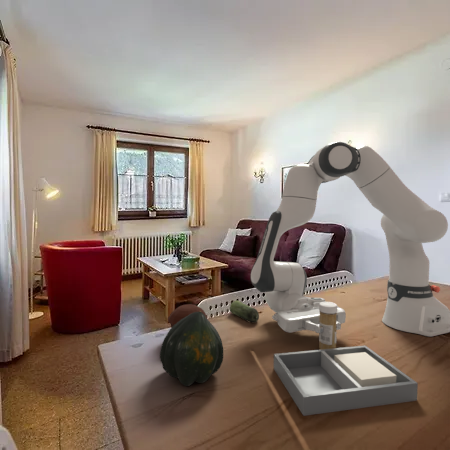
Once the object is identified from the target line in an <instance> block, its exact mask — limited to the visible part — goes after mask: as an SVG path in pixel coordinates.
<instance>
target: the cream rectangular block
mask: <svg viewBox="0 0 450 450" xmlns="http://www.w3.org/2000/svg"><path fill="white" fill-rule="evenodd" d="M334 361H335V362H336V363H337V364H338V365H339V366H340V367H341V368H342V369H344V370H345V371H346V372H347V373H348V374H349V375H350V376H351V377H352V378H353V379H354V380H355V381H356V382H357V383H358V384H359V385H360V386H361V387H367V386H376V385H384V384H392V383H396V375H395V374H394V373H392V372H391V371H390V370H388V369H387V368H386V367H384V366H383V365H382V364H380V363H379V362H378V361H376V360H375V359H374V358H372V357H371V356H370V355H368V354H367V353H366V352H361V353H351V354H340V355H334Z"/></svg>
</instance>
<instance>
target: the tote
mask: <svg viewBox="0 0 450 450" xmlns="http://www.w3.org/2000/svg"><path fill="white" fill-rule="evenodd" d="M361 352H366V353H367V354H368V355H370V356H371V357H372V358H374V359H375V360H376V361H378V362H379V363H380V364H382V365H383V366H384V367H386V368H387V369H388V370H390V371H391V372H392V373H394V374H395V375H396V383H392V384H384V385H376V386H367V387H361V386H360V385H359V384H358V383H357V382H356V381H355V380H354V379H353V378H352V377H351V376H350V375H349V374H348V373H347V372H346V371H345V370H344V369H342V368H341V367H340V366H339V365H338V364H337V363H336V362H335V361H334V355H340V354H351V353H361ZM273 370H274V372H275V373H276V375H277V376H278V378H279V379H280V381H281V383H282V385H284V387H285V390H287V392H288V394H289V396H290V397H291V398H292V400H293V402H294V403H295V405H296V407H297V408H298V410H299V411H300V413H301V414H302V416H304V417H305V416H311V415H312V416H313V415H319V414H327V413H333V412H334V413H335V412H341V411H347V410H348V411H349V410H356V409H363V408H371V407H379V406H386V405H394V404H401V403H402V404H403V403H408V402H415V401H418V386H419V385H418V382H417V381H416V380H414V379H412V377H410V376H408V375H407V374H406V373H405V372H403V371H401V370H400V369H399V368H397V367H396V366H395V365H394V364H392V363H391V362H389V361H387V360H386V359H385V358H384V357H382V356H380V355H379V354H377V353H376V352H375V351H374V350H372V348H370V347H368V346H367V345H357V346H345V347H336V348H333V349H322V350H319V349H314V350H313V349H312V350H304V351H303V350H302V351H292V352H282V353H273Z"/></svg>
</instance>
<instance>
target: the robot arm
mask: <svg viewBox="0 0 450 450" xmlns="http://www.w3.org/2000/svg"><path fill="white" fill-rule="evenodd" d="M287 172H288V173H287V174H286V178H285V182H284V185H283V190H282V196H281V202H280V204H279V206H278V208H277V209H276V210H275V211H273V212H272V213H271V215H270V217H269V218H268V221H267V222H266V223H267V224H266V227H265V229H264V232H263V236H262V238H261V239H262V240H261V243H260V247H259V249H258V252H257V256H256V259H255V261H254V264H253V265H252V268H251V270H250V283H251V284H252V286H254V288H255V289H256V290H257V291H258V292H260V293H265V295H264V297H265V298H264V299H265V302H266V303H267V306H268V307H269V308H270V309H271V310H272V311H273V312H274V314H273V315H272V316H271V318H272V319H273V320H274V321H275V322H277V325H278V326H279V327H280V329H282V330H283V331H284V332H286V333H296V332H302V331H311V332H315V333H317V334H319V333H322V332H323V326H322V325H320V324H319V321H320V312H319V311H320V310H319V303H321V302H326V299H325V298H323V297H309V296H305V295H304V293H305V292H306V291H305V290H306V287H307V285H308V284H307V282H308V276H307V272H306V270H305V267H303V266H302V265H301V264H300V262H292V261H275V260H274V258H275V257H276V253H277V249H278V245H279V242H280V239H281V237H282V235H284V233H285V232H287V231H289V230H291V229H295V228H297V227H301V226H303V225H305V224H307V223H308V222H310V220H312V218H313V217H314V215H315V212H316V207H317V201H318V191H319V188H320V185H321V184H325V183H328V182H332V181H336V180H338V179H340V178H342V177H344V176H346V177H348V178H349V179H350V180H352V181H353V184H355V185H356V187H357V188H358V189H359V191H360V192H361V193H362V195H363V196H364V197H365V198H366V199H367V201H368V202H369V204H371V206H372V207H374V209H376V210H378V211H379V212H380V213H382V214H383V215H382V216H381V219H380V226H381V229H382V230H383V232H384V235H385V240H386V245H387V249H388V254H389V255H388V257H389V258H388V259H389V266H388V267H389V269H388V271H389V272H388V273H389V274H388V275H389V276H388V280H387V285H386V286H387V287H386V291H387V298H386V299H387V300H386V305H385V309H384V313H383V316H382V319H381V321H382V323H383V324H384V325H386V326H388V327H390V328H393V329H395V330H398V331H401V332H406V333H410V334H411V333H412V334H418V335H421V336H425V337H434V336H435V337H436V336H439V335H443V334H448V333H450V309H449V308H448V306H447V305H445V304H444V303H443V302H441V301H440V300H439V299H437V297H436V296H434V293H437V294H438V293H440V291H441V287H440V286H438V285H435V284H432V285H430V284H429V280H430V260H429V258H428V256H427V254H426V252H425V250H424V248H423V244H426V243H427V244H429V243H435V242H437V241H439V240H441V239H443V237H444V236H445V235H446V233H447V231H448V227H449V223H448V220H447V217H446V216H445V215H444V214H443V213H442V212H441V211H439V210H437V209H435V208H433V207H431V206H430V205H429V204H428V203H426V202H425V201H424V200H423V199H422V198H420V197H419V196H418V195H417V194H416V193H415V192H413V191H412V190H411V189H410V188H409V187H408V186H406V184H405V183H404V181H402V180H401V179H400V178H399V177H400V176H398V175H397V174H396V172H395V171H394V169H392V167H391V166H390V165H389V164H388V163H387V161H386V160H385V159H384V158H383V157H382V156H381V155H380V154H379V153H377V152H376V151H375V150H374V149H373V148H372V147H370V146H369V145H361V146H357V147H354V146H352V145H350V144H348V143H346V142H341V141H334V142H330V143H327V144H326V145H325V146H322V147H321V148H320V149H318V151H316V153H314V155H313V156H312V157H311V158H310V159H309V160H308V161H307V163H306V164H300V163H299V164H296V165H293V166H292V167H290V169H289V170H288V171H287ZM433 292H434V293H433ZM345 323H346V311H345V309H344V308H342V307H340V306H338V305H337V314H336V331H338V330H341V329H342V324H345Z"/></svg>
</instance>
